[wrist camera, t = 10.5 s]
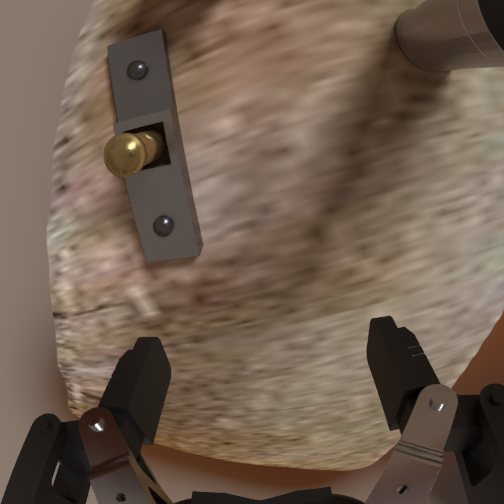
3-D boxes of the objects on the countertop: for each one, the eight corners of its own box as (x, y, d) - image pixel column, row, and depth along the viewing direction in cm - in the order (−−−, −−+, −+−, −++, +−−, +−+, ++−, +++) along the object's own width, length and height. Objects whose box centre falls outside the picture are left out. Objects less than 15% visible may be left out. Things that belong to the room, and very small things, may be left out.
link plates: (165, 31, 29) (156, 24, 26) (203, 245, 41) (198, 258, 37) (112, 48, 29) (99, 43, 26) (153, 251, 41) (145, 264, 38)
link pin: (168, 123, 34) (139, 128, 25) (174, 156, 36) (148, 172, 27) (136, 131, 34) (99, 139, 25) (142, 163, 36) (109, 181, 27)
